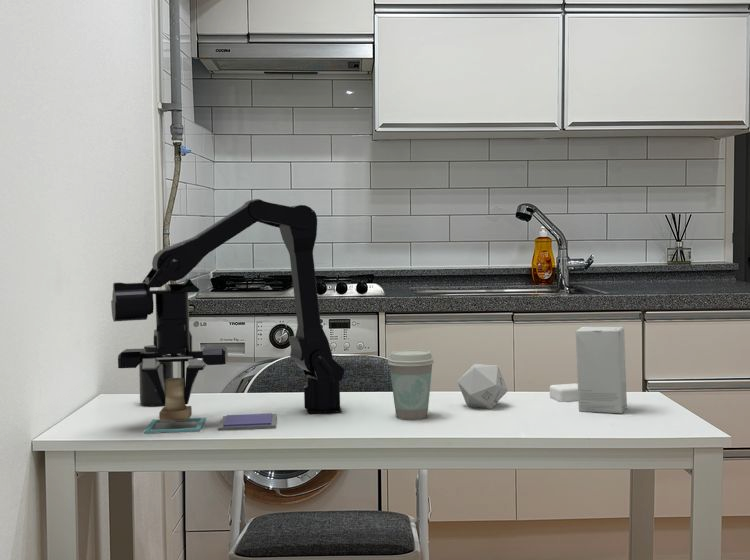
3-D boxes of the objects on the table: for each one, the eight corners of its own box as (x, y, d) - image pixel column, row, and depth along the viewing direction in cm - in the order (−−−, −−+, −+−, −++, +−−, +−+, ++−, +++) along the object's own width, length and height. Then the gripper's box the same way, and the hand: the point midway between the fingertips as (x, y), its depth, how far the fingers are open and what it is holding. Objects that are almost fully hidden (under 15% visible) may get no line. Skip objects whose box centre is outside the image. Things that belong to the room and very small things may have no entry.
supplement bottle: (165, 407, 170) (163, 348, 169) (134, 406, 171) (132, 348, 170) (179, 400, 176) (177, 343, 176) (149, 400, 178) (147, 343, 177)
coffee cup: (382, 420, 153) (380, 354, 152) (398, 410, 161) (396, 348, 160) (426, 422, 150) (425, 356, 149) (440, 413, 158) (439, 350, 157)
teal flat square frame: (205, 419, 157) (205, 417, 157) (200, 431, 147) (199, 428, 147) (153, 421, 156) (153, 419, 156) (144, 433, 146) (144, 431, 146)
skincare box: (627, 408, 159) (627, 326, 158) (622, 415, 153) (621, 330, 152) (582, 405, 163) (582, 325, 162) (575, 411, 157) (575, 328, 156)
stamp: (191, 414, 154) (190, 376, 154) (188, 420, 149) (186, 381, 149) (164, 415, 153) (162, 377, 153) (159, 421, 148) (158, 382, 148)
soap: (560, 403, 166) (560, 388, 166) (548, 399, 171) (548, 384, 171) (601, 401, 168) (601, 386, 168) (589, 396, 173) (589, 381, 173)
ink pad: (276, 416, 158) (276, 412, 158) (275, 428, 148) (275, 423, 148) (223, 418, 157) (223, 414, 157) (218, 430, 147) (218, 426, 147)
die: (472, 416, 158) (503, 374, 157) (441, 388, 164) (472, 347, 163) (492, 424, 165) (523, 383, 163) (462, 397, 170) (492, 357, 169)
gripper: (228, 312, 159) (231, 394, 160) (128, 316, 158) (131, 398, 158) (223, 318, 148) (226, 405, 149) (115, 321, 146) (119, 410, 147)
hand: (175, 404), depth 151 cm, fingers closed on stamp, 4 cm apart
